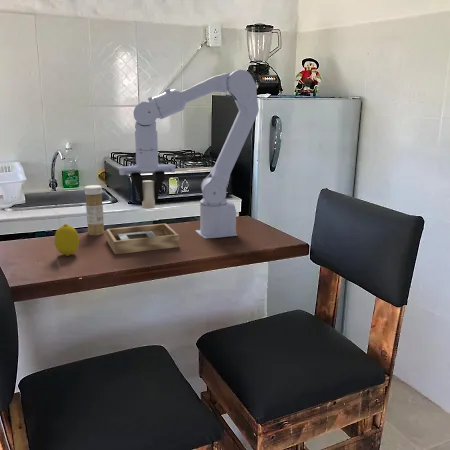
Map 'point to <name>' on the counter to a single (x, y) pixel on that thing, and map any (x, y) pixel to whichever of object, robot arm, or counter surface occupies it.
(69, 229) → the lemon
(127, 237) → the plate
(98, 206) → the sprinkles bottle
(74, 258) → the counter surface
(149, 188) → the peg
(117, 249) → the crate
